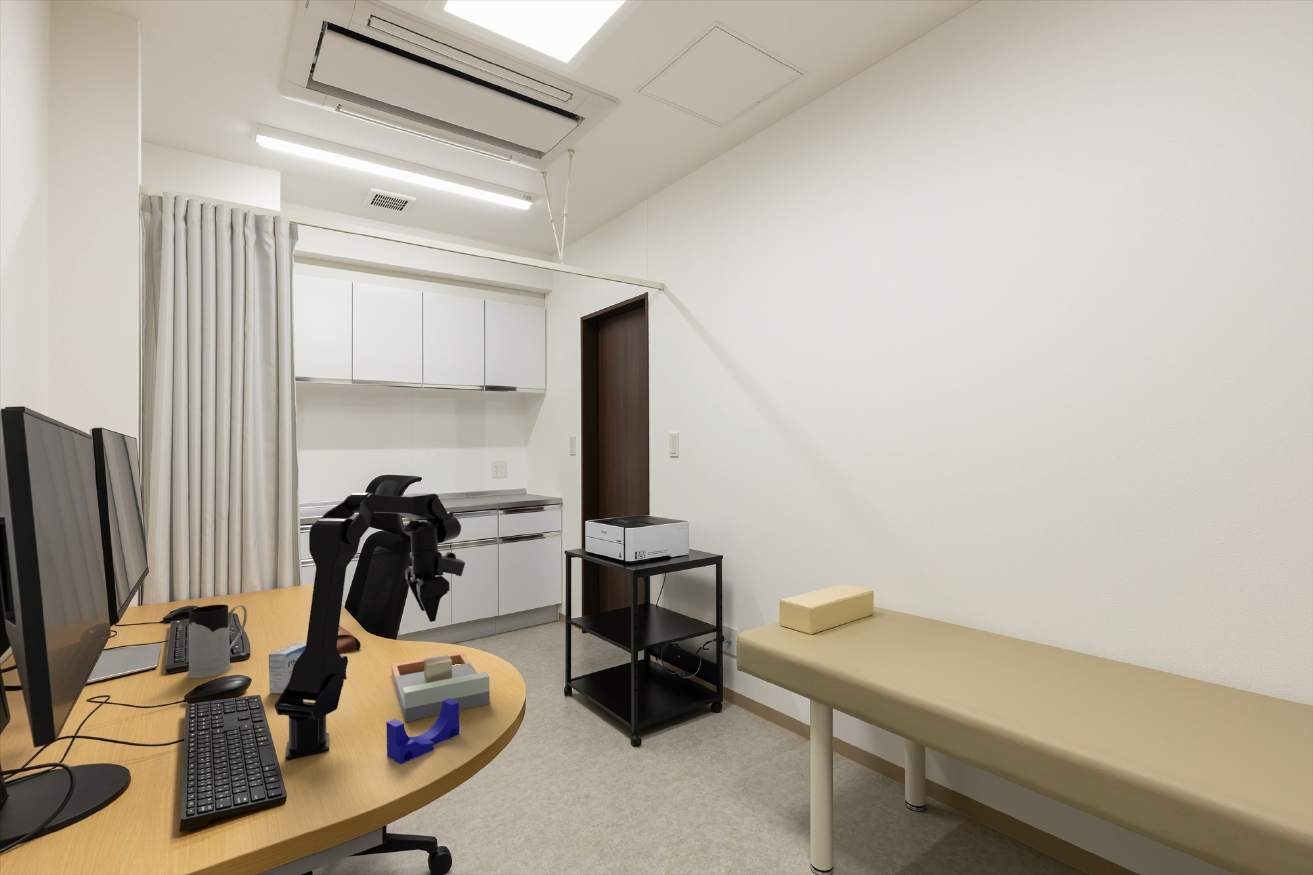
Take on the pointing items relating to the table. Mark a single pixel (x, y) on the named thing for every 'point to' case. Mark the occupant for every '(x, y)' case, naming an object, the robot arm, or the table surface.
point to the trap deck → (436, 706)
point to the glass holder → (210, 640)
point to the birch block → (437, 668)
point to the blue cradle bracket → (413, 747)
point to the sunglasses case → (346, 641)
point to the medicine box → (283, 666)
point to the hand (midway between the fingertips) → (428, 615)
